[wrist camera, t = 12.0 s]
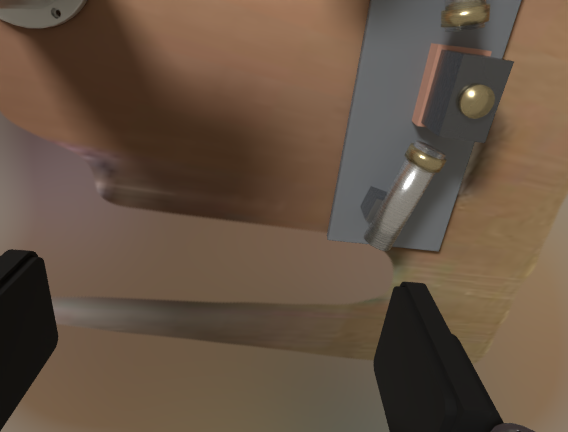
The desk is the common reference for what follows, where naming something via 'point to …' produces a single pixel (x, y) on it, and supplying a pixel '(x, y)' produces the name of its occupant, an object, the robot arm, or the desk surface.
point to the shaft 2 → (464, 15)
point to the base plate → (406, 114)
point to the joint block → (465, 95)
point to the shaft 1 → (400, 195)
